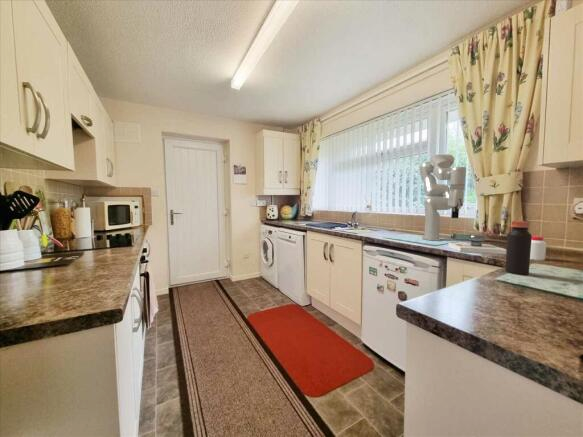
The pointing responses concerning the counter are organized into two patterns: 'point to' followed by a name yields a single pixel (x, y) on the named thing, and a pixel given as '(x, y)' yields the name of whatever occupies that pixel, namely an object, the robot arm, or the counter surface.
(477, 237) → the grey elongated shape
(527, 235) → the vinegar
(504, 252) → the plate
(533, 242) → the pill bottle
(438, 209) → the robot arm
